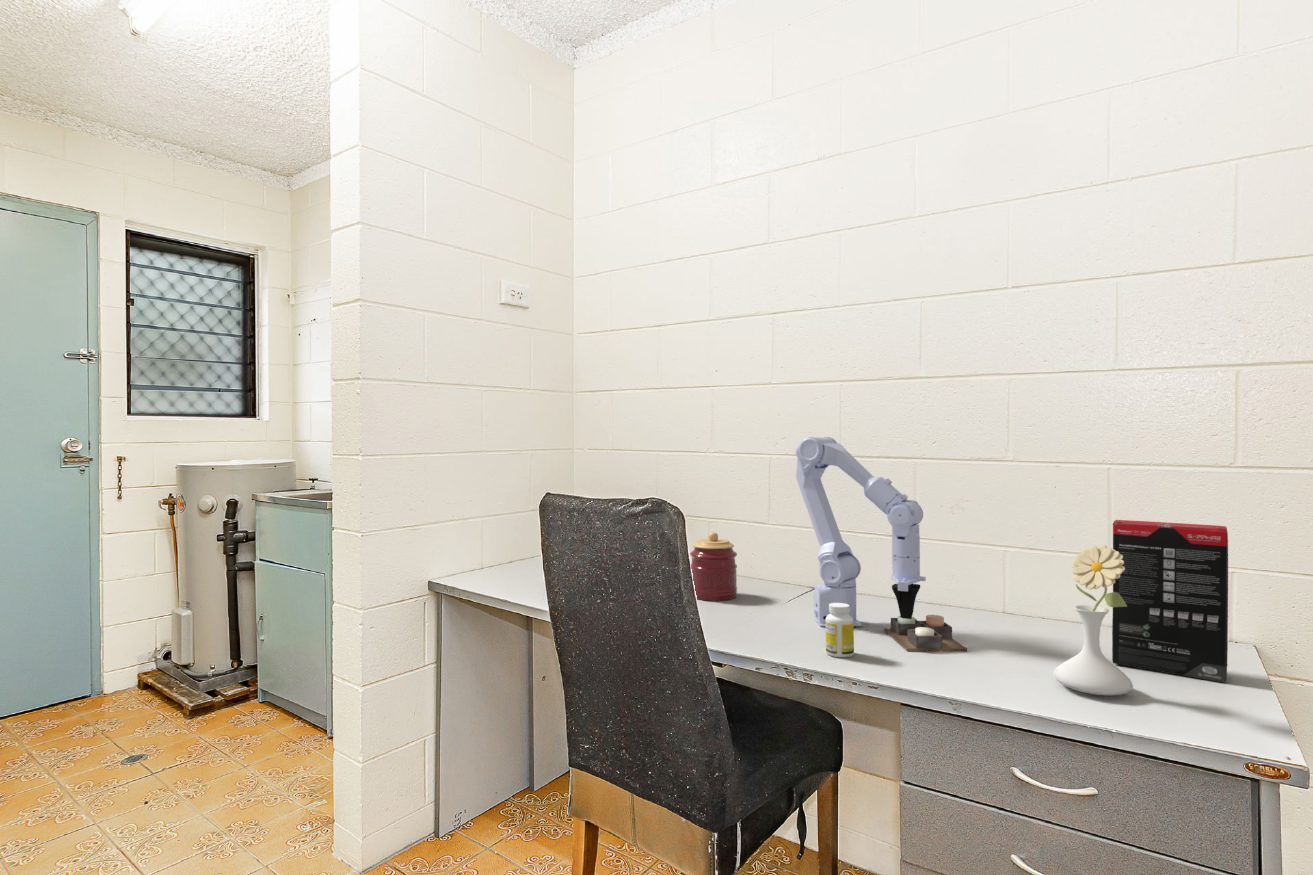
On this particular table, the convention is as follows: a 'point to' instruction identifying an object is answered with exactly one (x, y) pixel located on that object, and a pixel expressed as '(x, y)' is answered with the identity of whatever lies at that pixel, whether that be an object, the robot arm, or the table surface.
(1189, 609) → the graphics card box
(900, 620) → the sage button
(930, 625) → the terracotta button
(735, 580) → the canister
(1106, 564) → the flower in vase
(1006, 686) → the table surface
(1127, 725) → the table surface
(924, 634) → the cream button
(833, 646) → the supplement bottle
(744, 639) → the table surface
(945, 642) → the button panel
